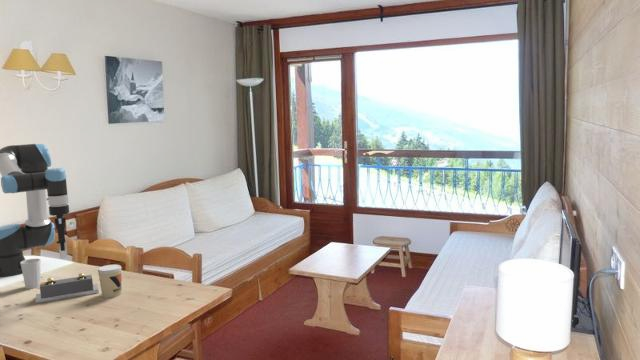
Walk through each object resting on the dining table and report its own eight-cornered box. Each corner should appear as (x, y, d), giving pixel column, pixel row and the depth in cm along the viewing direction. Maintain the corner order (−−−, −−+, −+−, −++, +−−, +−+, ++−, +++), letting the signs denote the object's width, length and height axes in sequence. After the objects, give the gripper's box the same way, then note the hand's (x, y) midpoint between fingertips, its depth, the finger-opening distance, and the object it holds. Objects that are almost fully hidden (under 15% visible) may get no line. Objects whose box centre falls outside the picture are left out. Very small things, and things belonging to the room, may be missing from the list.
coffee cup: (115, 298, 213) (112, 271, 212) (95, 297, 215) (92, 270, 214) (128, 291, 222) (125, 264, 221) (108, 290, 224) (106, 263, 223)
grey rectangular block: (41, 298, 212) (39, 285, 212) (41, 294, 218) (40, 281, 217) (93, 289, 221) (92, 277, 220) (92, 285, 227) (91, 273, 226)
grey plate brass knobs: (35, 303, 211) (33, 283, 210) (36, 297, 218) (34, 278, 217) (98, 292, 221) (96, 274, 220) (97, 287, 229) (95, 269, 227)
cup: (47, 283, 236) (44, 258, 235) (35, 289, 228) (33, 263, 227) (30, 283, 237) (28, 258, 235) (19, 289, 229) (16, 263, 227)
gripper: (49, 201, 224) (54, 248, 227) (47, 210, 202) (53, 262, 205) (68, 199, 227) (72, 246, 230) (68, 208, 205) (73, 259, 208)
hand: (63, 254), depth 217 cm, fingers open, 13 cm apart
